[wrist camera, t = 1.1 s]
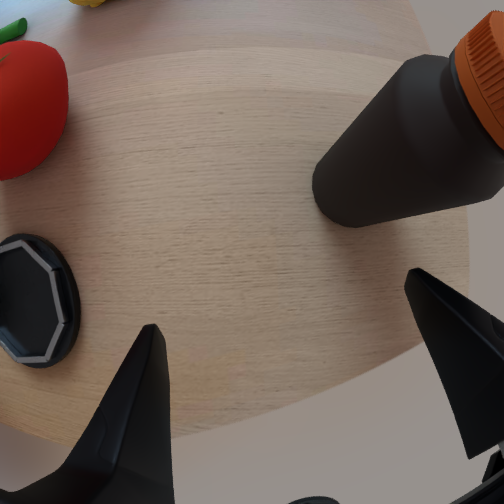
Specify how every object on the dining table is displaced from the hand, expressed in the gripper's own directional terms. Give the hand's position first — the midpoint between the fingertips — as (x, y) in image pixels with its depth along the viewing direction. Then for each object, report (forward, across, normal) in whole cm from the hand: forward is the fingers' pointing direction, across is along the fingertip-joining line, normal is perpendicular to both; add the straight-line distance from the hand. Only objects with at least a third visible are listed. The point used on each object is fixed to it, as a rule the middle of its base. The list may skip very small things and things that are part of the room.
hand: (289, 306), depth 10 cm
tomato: (+23, +20, -5) cm, 30 cm away
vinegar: (+15, -8, +5) cm, 18 cm away
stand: (+12, +23, +8) cm, 27 cm away
